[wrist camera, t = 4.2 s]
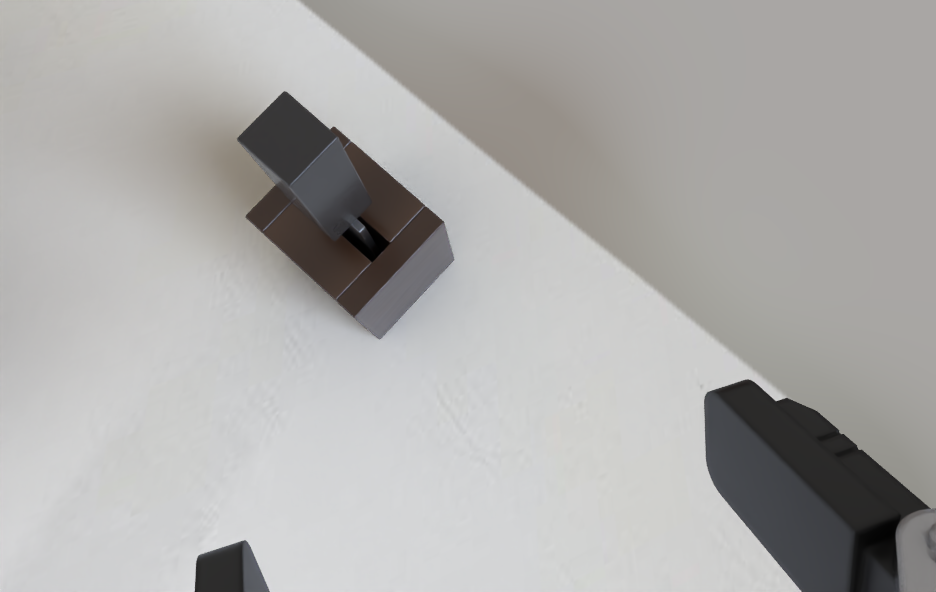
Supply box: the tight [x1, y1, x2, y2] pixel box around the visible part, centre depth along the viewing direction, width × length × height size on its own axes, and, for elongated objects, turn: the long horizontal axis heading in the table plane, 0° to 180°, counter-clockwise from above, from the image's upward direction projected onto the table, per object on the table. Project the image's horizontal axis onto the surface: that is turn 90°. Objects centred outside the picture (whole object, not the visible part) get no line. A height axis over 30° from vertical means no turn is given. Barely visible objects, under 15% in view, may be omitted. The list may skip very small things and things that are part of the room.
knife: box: [237, 91, 381, 262], centre depth 29 cm, size 3×2×14 cm, turn 48°
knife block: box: [246, 127, 454, 339], centre depth 33 cm, size 6×5×6 cm
